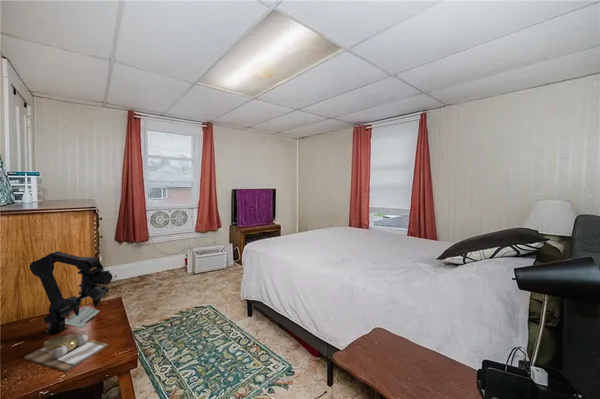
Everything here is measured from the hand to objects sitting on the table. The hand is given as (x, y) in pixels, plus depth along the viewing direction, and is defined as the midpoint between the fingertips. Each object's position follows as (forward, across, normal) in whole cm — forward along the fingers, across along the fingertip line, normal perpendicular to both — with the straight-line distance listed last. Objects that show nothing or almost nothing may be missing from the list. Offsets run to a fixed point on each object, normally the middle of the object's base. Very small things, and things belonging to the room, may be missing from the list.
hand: (86, 311), depth 130 cm
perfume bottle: (+11, -13, -3) cm, 17 cm away
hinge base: (+12, -13, -7) cm, 19 cm away
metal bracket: (+13, +9, +14) cm, 21 cm away
